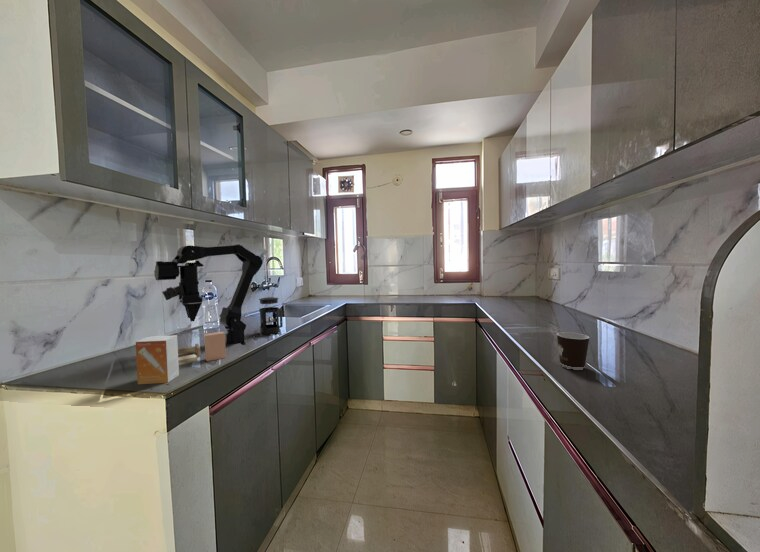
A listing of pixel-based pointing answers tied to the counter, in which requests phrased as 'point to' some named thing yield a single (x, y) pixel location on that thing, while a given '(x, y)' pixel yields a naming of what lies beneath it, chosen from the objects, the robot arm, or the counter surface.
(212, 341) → the salmon pink block
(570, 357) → the coffee mug
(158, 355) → the small box
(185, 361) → the offcut top
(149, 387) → the counter surface
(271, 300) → the french press
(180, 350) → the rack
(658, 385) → the counter surface
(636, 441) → the counter surface
